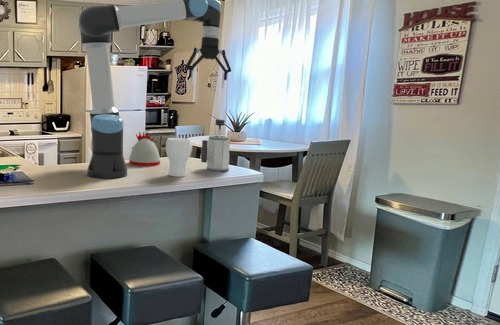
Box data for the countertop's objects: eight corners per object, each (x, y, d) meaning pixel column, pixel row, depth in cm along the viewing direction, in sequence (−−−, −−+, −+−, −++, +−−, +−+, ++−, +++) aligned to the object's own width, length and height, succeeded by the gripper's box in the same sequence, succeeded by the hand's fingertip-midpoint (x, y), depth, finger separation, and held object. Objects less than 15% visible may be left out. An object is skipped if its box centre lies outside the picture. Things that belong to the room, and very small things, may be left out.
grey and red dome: (130, 160, 211) (131, 129, 208) (160, 161, 213) (161, 130, 211) (128, 165, 197) (128, 132, 195) (159, 166, 200) (160, 133, 197)
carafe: (200, 170, 197) (201, 137, 194) (201, 166, 207) (203, 134, 204) (228, 172, 197) (230, 138, 195) (228, 168, 207) (230, 136, 205)
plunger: (210, 162, 198) (212, 119, 195) (211, 159, 204) (213, 118, 201) (224, 163, 198) (227, 120, 195) (225, 160, 205) (227, 119, 201)
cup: (185, 178, 178) (186, 141, 176) (160, 176, 180) (161, 139, 178) (194, 173, 189) (195, 138, 186) (170, 171, 191) (171, 136, 188)
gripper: (180, 34, 190) (178, 84, 194) (238, 38, 191) (235, 88, 194) (183, 36, 197) (180, 84, 201) (238, 40, 198) (235, 88, 201)
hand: (207, 86), depth 198 cm, fingers open, 13 cm apart
